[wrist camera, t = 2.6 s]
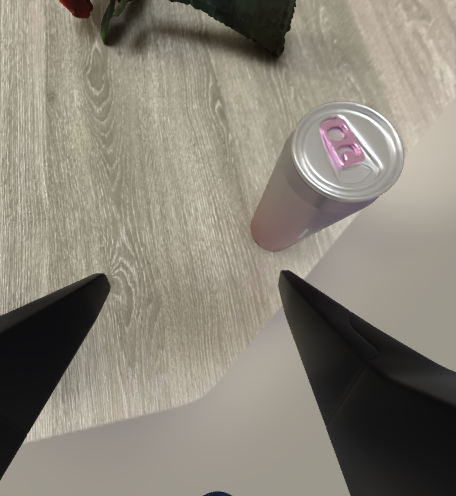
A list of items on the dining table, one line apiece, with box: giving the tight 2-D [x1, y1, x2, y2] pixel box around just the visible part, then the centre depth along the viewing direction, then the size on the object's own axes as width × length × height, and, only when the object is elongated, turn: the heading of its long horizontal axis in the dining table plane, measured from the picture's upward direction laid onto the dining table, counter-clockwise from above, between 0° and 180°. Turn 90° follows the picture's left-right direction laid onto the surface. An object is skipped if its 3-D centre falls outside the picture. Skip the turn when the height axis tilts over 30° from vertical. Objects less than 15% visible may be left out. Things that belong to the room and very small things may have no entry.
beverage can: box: [251, 101, 404, 251], centre depth 16 cm, size 6×6×15 cm
